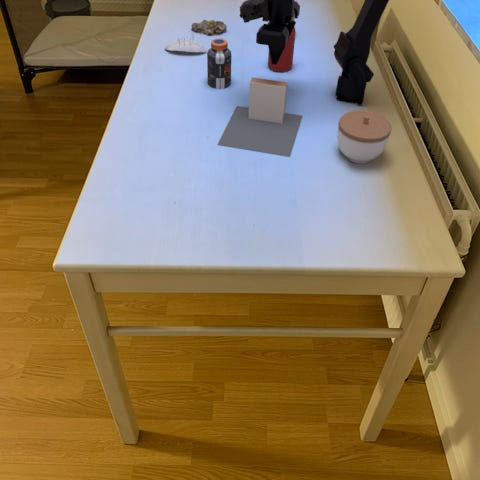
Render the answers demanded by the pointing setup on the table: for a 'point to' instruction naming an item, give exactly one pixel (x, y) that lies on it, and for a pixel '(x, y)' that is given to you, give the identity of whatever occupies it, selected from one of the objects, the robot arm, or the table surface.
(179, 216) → the table surface
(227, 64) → the pill bottle
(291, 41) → the beer can
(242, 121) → the mat
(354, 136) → the lidded jar
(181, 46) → the pincushion
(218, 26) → the mineral rock
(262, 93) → the tile
